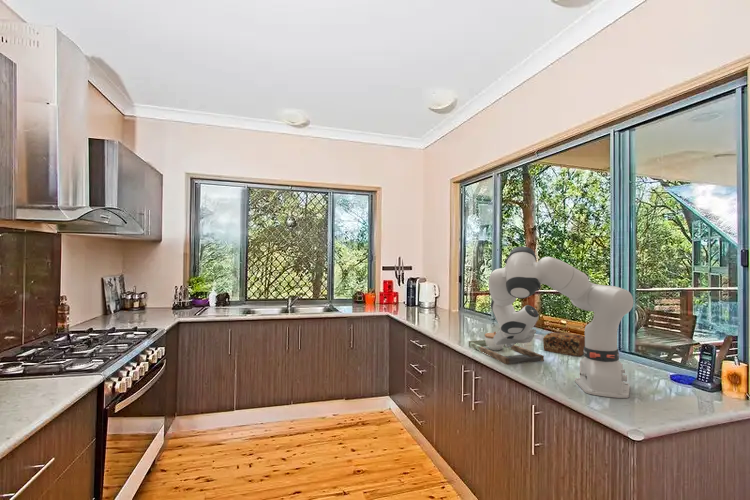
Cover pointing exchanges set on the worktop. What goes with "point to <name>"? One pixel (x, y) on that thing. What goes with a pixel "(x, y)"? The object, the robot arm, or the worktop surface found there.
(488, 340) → the lidded jar
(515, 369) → the worktop surface
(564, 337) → the bread
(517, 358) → the wooden serving tray
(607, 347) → the robot arm
